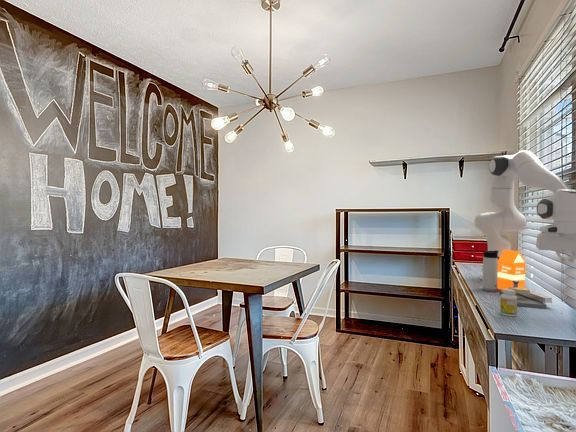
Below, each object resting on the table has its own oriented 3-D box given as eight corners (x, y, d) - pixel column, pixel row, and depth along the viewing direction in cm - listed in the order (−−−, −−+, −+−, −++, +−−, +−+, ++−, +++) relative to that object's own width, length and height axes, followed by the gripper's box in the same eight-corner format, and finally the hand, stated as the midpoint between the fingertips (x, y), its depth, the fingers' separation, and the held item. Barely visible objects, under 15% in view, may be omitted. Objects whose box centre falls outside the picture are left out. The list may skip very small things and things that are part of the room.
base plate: (499, 292, 164) (499, 289, 164) (529, 295, 159) (529, 292, 159) (512, 305, 142) (512, 301, 142) (546, 308, 138) (546, 305, 138)
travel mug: (499, 292, 165) (500, 251, 165) (485, 291, 166) (486, 251, 166) (494, 289, 171) (495, 250, 171) (480, 288, 172) (481, 249, 172)
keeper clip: (508, 295, 152) (508, 286, 152) (526, 297, 150) (527, 288, 150) (510, 298, 148) (510, 288, 148) (529, 299, 146) (529, 290, 146)
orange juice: (508, 287, 175) (509, 249, 175) (525, 291, 167) (526, 251, 166) (497, 288, 173) (498, 249, 172) (512, 292, 164) (513, 251, 164)
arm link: (507, 291, 160) (507, 279, 160) (516, 291, 160) (516, 279, 160) (543, 303, 139) (543, 290, 139) (553, 303, 140) (553, 290, 140)
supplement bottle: (518, 317, 126) (519, 292, 126) (501, 315, 128) (502, 290, 128) (514, 313, 131) (515, 288, 131) (498, 311, 133) (499, 287, 133)
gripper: (595, 228, 137) (594, 262, 138) (535, 227, 145) (534, 259, 145) (603, 229, 131) (602, 265, 132) (540, 228, 139) (539, 261, 139)
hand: (566, 262), depth 139 cm, fingers closed
